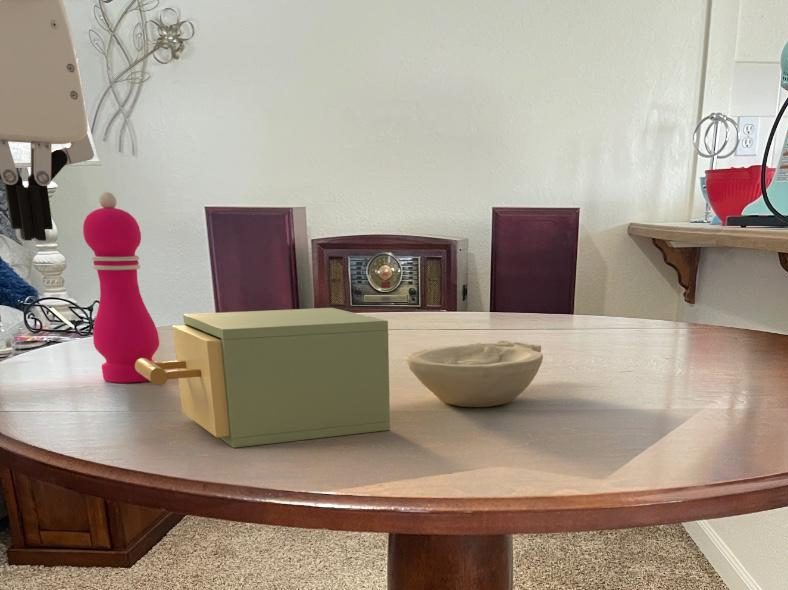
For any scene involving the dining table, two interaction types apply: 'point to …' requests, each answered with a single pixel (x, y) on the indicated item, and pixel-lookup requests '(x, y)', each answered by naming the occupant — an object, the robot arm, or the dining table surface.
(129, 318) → the pepper mill
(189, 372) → the drawer
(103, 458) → the dining table surface
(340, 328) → the cabinet
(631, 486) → the dining table surface
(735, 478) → the dining table surface
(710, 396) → the dining table surface
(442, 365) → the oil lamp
